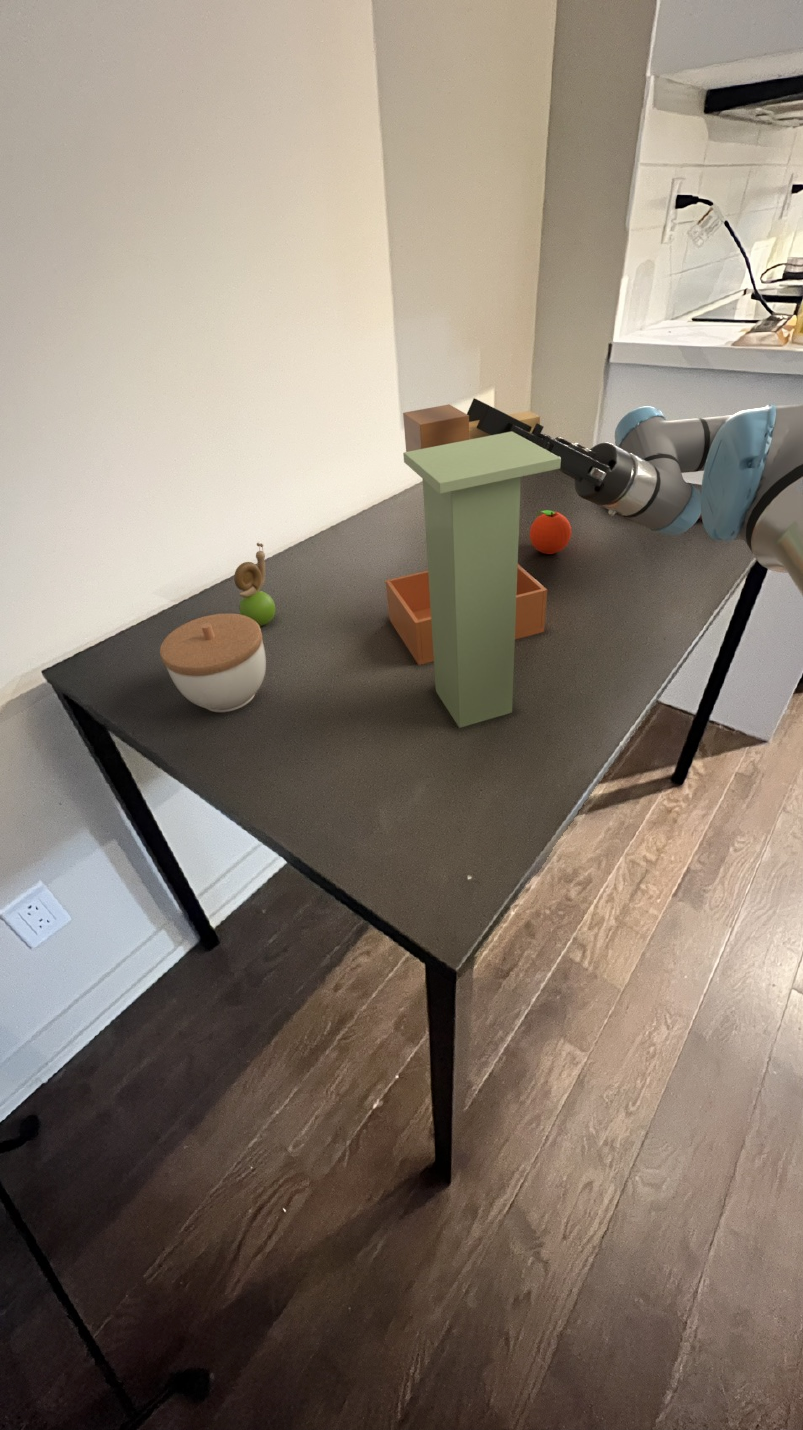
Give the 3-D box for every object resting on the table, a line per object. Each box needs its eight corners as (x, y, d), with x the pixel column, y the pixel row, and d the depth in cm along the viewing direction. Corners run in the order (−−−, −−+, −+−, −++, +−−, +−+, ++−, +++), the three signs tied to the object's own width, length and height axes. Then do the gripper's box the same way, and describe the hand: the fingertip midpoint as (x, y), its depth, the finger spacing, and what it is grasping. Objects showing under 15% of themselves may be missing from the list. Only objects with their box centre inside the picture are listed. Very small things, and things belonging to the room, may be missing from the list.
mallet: (522, 432, 81) (524, 390, 78) (545, 444, 76) (547, 400, 73) (406, 455, 78) (402, 412, 75) (422, 469, 73) (419, 424, 70)
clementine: (517, 547, 111) (519, 508, 106) (550, 537, 113) (553, 499, 108) (543, 564, 105) (546, 524, 101) (577, 554, 107) (582, 513, 103)
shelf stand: (505, 667, 84) (512, 431, 65) (542, 710, 76) (561, 457, 57) (422, 690, 81) (403, 452, 62) (450, 736, 74) (439, 482, 55)
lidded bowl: (284, 708, 81) (265, 636, 74) (186, 737, 78) (156, 665, 71) (266, 659, 90) (247, 591, 83) (178, 683, 87) (151, 614, 80)
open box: (503, 591, 99) (504, 552, 95) (544, 632, 89) (547, 589, 85) (389, 620, 96) (385, 580, 91) (418, 665, 86) (415, 622, 81)
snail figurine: (290, 616, 99) (273, 545, 91) (260, 636, 95) (241, 563, 88) (266, 608, 102) (248, 539, 94) (237, 627, 98) (216, 556, 90)
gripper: (632, 525, 82) (490, 463, 70) (568, 487, 93) (438, 428, 82) (666, 469, 78) (522, 394, 67) (595, 437, 90) (463, 368, 79)
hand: (476, 413), depth 74 cm, fingers closed on mallet, 3 cm apart
